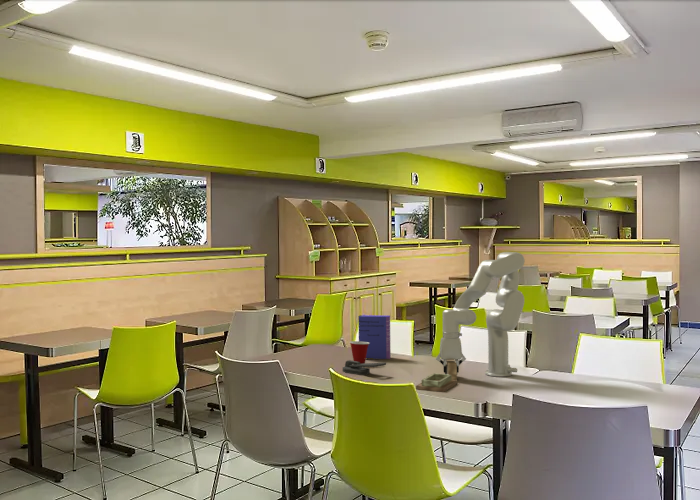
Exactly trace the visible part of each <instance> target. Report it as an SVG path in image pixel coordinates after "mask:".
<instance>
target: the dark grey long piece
mask: <svg viewBox="0 0 700 500" xmlns="http://www.w3.org/2000/svg"><path fill="white" fill-rule="evenodd" d="M382 366H387V362H370V363H366V362H365V363H362V364H360V362H357V361H354V360H350V359H349V360H346V361H345V364H344V366H342V372H343V373H344V372H345V373H346V374H352V375H357V376H364V375H365V376H366V375H369V374H371V371H370V370H371V369H370V368H377V367H382Z"/></svg>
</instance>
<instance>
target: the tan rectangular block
mask: <svg viewBox="0 0 700 500" xmlns="http://www.w3.org/2000/svg"><path fill="white" fill-rule="evenodd" d="M446 366H447V375H452V380H457V379H458V373H457V364H456V361H455V360H447V362H446ZM457 381H458V380H457Z"/></svg>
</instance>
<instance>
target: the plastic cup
mask: <svg viewBox="0 0 700 500" xmlns="http://www.w3.org/2000/svg"><path fill="white" fill-rule="evenodd" d="M349 344H350V348H351V349H350V350H351V354H352V361H357V362H360V364H362V363H366V360H367V359H366V355H367V349H368V345H369V344H370V343H369V342H361V341H359V340H358V341H355V340H351V341H349Z"/></svg>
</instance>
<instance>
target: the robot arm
mask: <svg viewBox="0 0 700 500" xmlns="http://www.w3.org/2000/svg"><path fill="white" fill-rule="evenodd" d="M525 260H526V259H525V257H524V255H523V254H522V253H520V252H516V251H513V252H512V251H503V252H499V253H498V255H497V256H496V259H485V260H482V261H481V262H480V263H479V265H478V267H477V269H476V272H475V274H474V276H473V278H472V280H471V282H470V284H469V286H468V287H467V288H466V289H465V290H464V291H463V292H462V294H460V296H459V297H458V299H457V300H456V302H455V305H454V306H453V308H452V309H450V308H447V309H444V310H443V311H442V337H441V338H440V344H439V345H440V346H439V353H438V355H437V356H436V358H435V360H436V361H437V362H439V363H440V364H441V365H442V366H443V374H447V366H446V362H447V360H454V361H455V362H456V364H457V374H458V373H459V371H460V369H459V367H460V365H461V364H462V363H463V362H465V361H467V358H466V356H465V355H464V354H463V350H462V341H461V338H460V337H462V335H463V333H462V332H460V331H459V330H460V327H459V325H462V326H463V325H464V326H470V325H472V324H474V323H476V320H477V315H476V313H475V311H474V310H472V309H470V308H471V306H472V305H473V303H474V302H476V301H477V300H479V299H480V298H482V297H483V296H485V295H486V294H487V292H488V291H489V287H490V285H491V284H492V281H493V279H497V278H501V280H500V283H499V287H498V290H497V292H496V295H495V303H496V305H497V306H498V307H500V308H503V309H498V308H494V309H491V310H489V312H488V313H487V314H486V319H485V321H486V329H487V338H488V339H487V341H488V342H487V343H488V345H487V346H488V347H487V350H488V351H487V353H488V354H487V355H488V358H487V359H488V369H487V370H485V371H484V374H485V375H486V376H490V377H499V378H500V377H510V376H512V375H513V373H518V368H517V367H511V365H510V364H509V334H508V332H511V331H513V330H515V328H517V326H518V323H519V321H520V318H521V314H522V312H523V310H524V309H523V308H524V305H525V296H524V294H523V293H522V291H520V290H518V288H519V285H520V279H521V278H520V273H519V270H521V269H522V268H523V267H524V265H525Z"/></svg>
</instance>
